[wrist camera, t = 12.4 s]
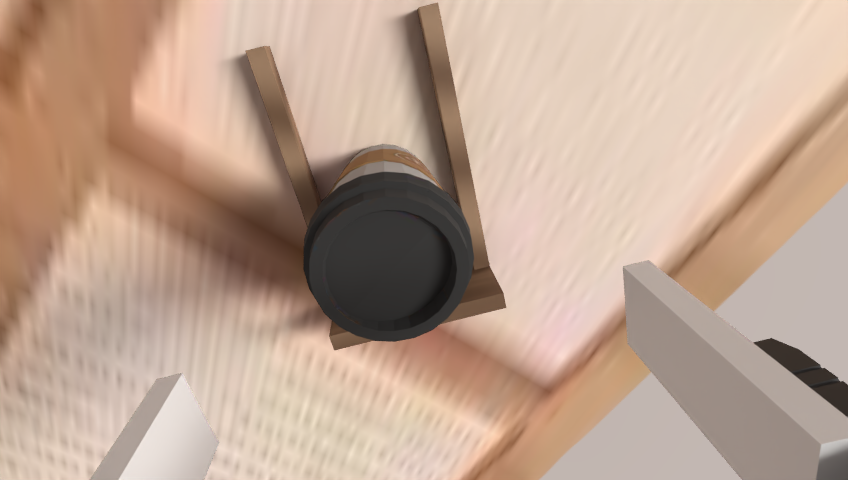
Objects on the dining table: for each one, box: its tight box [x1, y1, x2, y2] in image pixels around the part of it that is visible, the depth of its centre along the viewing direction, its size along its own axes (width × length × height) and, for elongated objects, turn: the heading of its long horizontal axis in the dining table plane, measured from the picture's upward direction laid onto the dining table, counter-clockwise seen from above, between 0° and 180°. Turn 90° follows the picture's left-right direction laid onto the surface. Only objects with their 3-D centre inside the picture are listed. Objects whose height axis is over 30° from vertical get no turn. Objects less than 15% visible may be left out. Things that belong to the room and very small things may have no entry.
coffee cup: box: [304, 144, 474, 342], centre depth 28 cm, size 8×8×15 cm
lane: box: [246, 3, 506, 350], centre depth 32 cm, size 20×12×6 cm, turn 13°
